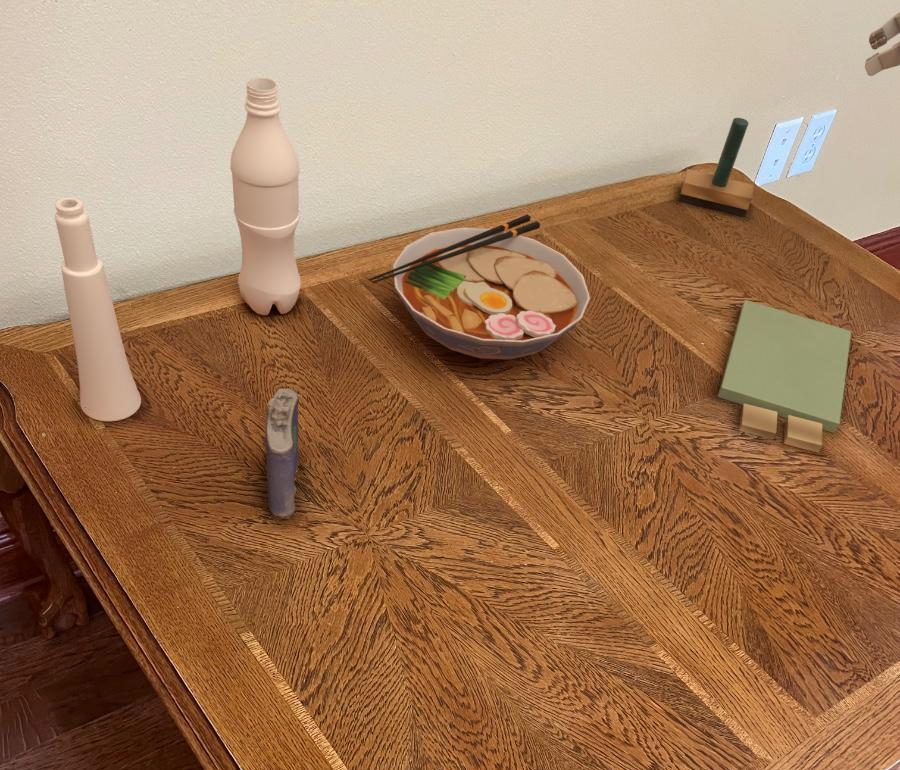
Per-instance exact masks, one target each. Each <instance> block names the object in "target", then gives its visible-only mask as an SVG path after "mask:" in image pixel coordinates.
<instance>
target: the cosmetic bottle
mask: <svg viewBox="0 0 900 770" xmlns="http://www.w3.org/2000/svg"><path fill="white" fill-rule="evenodd" d="M55 209H56V213H55V215H54V219H55V224H56V225H55V226H56V229H57V234H58V237H59V242H60V247H61V251H62V255H63V261H62V263H61V265H60V266H61V275H62V281H63V287H64V292H65V298H66V305H67V309H68V310H67V311H68V315H69V316H68V317H69V321H70V327H71V331H72V338H73V342H74V343H73V344H74V349H75V355H76V362H77V363H76V364H77V370H78V381H79V405H80V409H81V410H82V412H83V413H84V414H85V415H86V416H87V417H89V418H91V419H93V420H96V421H100V422H117V421H118V422H119V421H123V420H125V419H128V418H130V417H131V416H133V415H134V414H135V413H136V412H138V410H139V409H140V407H141V404H142V397H141V395H140V392H139V390H138V387H137V385H136V381H135V379H134V376H133V374H132V371H131V368H130V365H129V362H128V358H127V355H126V351H125V347H124V343H123V340H122V335H121V331H120V327H119V323H118V320H117V316H116V311H115V307H114V302H113V299H112V294H111V290H110V287H109V283H108V279H107V275H106V272H105V267H104V264H103V261H102V260H101V259H100V258H98V257H97V253H96V247H95V243H94V238H93V232H92V227H91V221H90V217H89V214H88V212H87V211H86V210H85V209H84V204H83V201H82V200H81V199H79V198H77V197H73V196H72V197H71V196H68V197H62V198H60V199H58V200H57V201H55ZM85 407H86V408H85ZM88 409H89V410H88Z"/></svg>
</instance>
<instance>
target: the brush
mask: <svg viewBox="0 0 900 770" xmlns="http://www.w3.org/2000/svg"><path fill="white" fill-rule="evenodd" d="M749 125H750V123H749V121H748V120H747V119H745V118H742V117H734V118H733V119H732V122H731V125H730V127H729V130H728V132H727V133H728V134H727V136H726V140H725V143H724V145H723V148H722V151H721V154H720V157H719V160H718V163H717V166H716V168H715V171H714V174H710V173H707V172H701V171H699V170H698V171H697V170H694V169H689V168H687V169H686V172H685V175H684V178H683V181H682V184H681V187H680V192H679V197H678V202H682V203H685V204H690V205H693V206H698V207H702V208H706V209H710V210H714V211H718V212H722V213H725V214H726V213H727V214H730V215H734V216H737V217H738V216H739V217H742V218H745V217H746V214H747V211H748V210H749V207H750V205H751V203H752V202H751V201H752V199H753V192H754V184H751V183H748V182H743V181H739V180H735V179H731V178H730V176H731V174H732V172H733V169H734V166H735V163H736V160H737V158H738V154H739V152H740V149H741V146H742V143H743V141H744V137H745V134H746V132H747V129H748V127H749Z"/></svg>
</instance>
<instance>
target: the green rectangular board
mask: <svg viewBox="0 0 900 770" xmlns="http://www.w3.org/2000/svg"><path fill="white" fill-rule="evenodd" d="M851 337H852V331H851V330H849V329H846V328H843V327H839V326H836V325H832V324H829V323H825V322H823V321H818V320H815V319H812V318H808V317H806V316H803V315H799V314H795V313H792V312H789V311H784V310H782V309H779V308H775V307H772V306H768V305H764V304H761V303H758V302H754V301H751V300H748V299H744V300H743V303H742V305H741V307H740V312H739V314H738V319H737V322H736V325H735V330H734V333H733V336H732V341H731V344H730V349H729V352H728V356H727V358H726V359H727V360H726V363H725V367H724V371H723V374H722V377H721V382H720V385H719V388H718V393H717V398H720V399H722V400H726V401H729V402H731V403H736V404H739V405H741V406H743V404H744V403H745V404H749V405H753V406H757V407H761V408H764V409H768V410H772V411H776V412H777V417H781V418H784V419H785V420H786V419H787V417H788V415H791V416H795V417H799V418H803V419H807V420H810V421H814V422H818V423H822V431H825V432H828V433H831V434H835V433H836V431H837V430H838V427H839V425H841V418H842V417H841V415H842V407H843V399H844V392H845V384H846V376H847V368H848V360H849V353H850V345H851Z"/></svg>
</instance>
